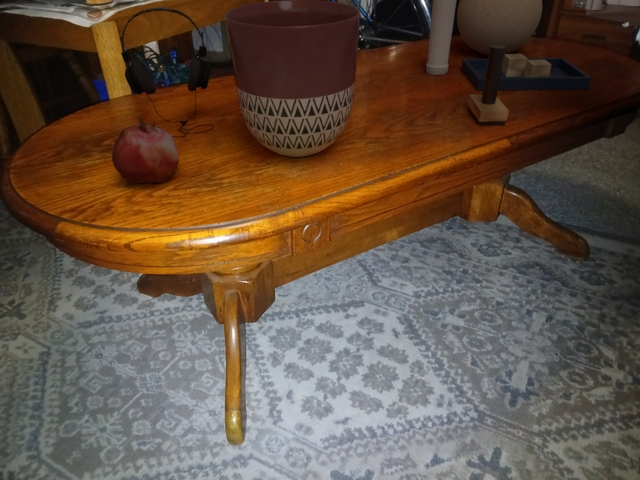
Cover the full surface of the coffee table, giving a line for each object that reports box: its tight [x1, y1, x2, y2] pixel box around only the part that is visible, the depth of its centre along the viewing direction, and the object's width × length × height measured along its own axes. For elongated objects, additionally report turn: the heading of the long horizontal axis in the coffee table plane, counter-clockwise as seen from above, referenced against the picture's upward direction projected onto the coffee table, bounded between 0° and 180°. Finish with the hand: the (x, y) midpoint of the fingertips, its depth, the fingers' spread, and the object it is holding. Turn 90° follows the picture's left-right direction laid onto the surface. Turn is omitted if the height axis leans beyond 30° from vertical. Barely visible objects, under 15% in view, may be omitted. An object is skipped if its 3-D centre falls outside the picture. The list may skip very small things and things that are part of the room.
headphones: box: [119, 6, 215, 138], centre depth 90 cm, size 15×11×20 cm
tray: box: [460, 57, 592, 92], centre depth 115 cm, size 24×16×2 cm, turn 90°
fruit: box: [111, 116, 180, 184], centre depth 75 cm, size 9×10×10 cm
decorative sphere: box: [456, 0, 543, 56], centre depth 128 cm, size 20×20×20 cm
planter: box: [224, 0, 361, 158], centre depth 80 cm, size 20×20×21 cm
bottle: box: [425, 0, 457, 76], centre depth 114 cm, size 5×5×25 cm
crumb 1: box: [501, 53, 528, 77], centre depth 116 cm, size 4×4×4 cm
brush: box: [467, 45, 510, 126], centre depth 93 cm, size 5×9×13 cm, turn 0°
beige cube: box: [523, 60, 551, 77], centre depth 112 cm, size 4×4×4 cm
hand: (588, 0), depth 81 cm, fingers open, 8 cm apart
